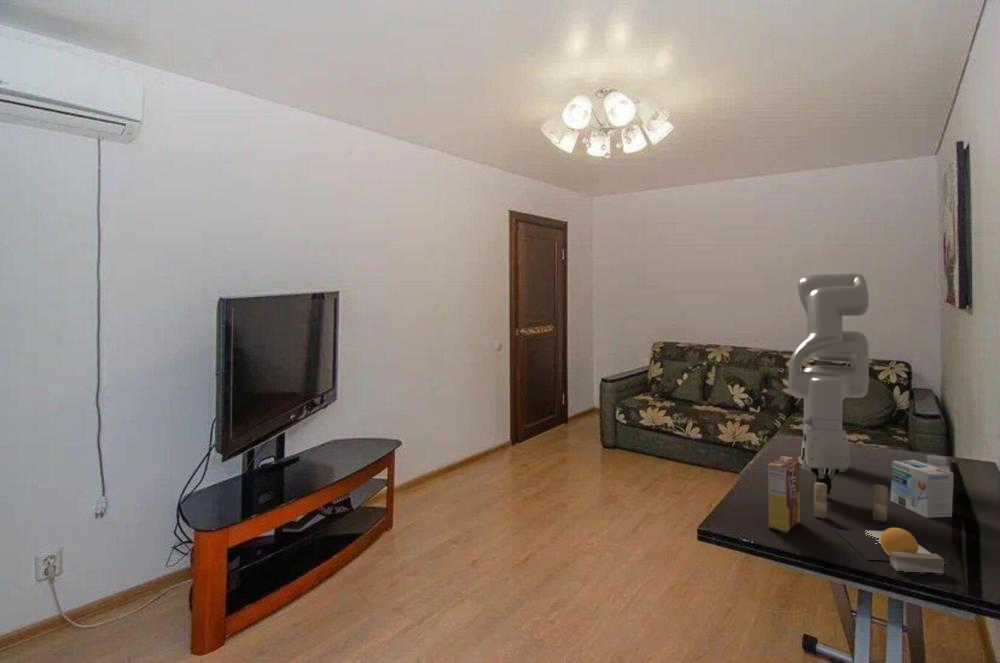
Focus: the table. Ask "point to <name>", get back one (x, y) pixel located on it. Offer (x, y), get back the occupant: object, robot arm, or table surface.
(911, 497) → the light bulb box
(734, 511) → the table surface
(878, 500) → the post
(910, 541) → the ball
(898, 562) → the stopper wall
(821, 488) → the post
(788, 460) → the candy box
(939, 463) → the supplement bottle
